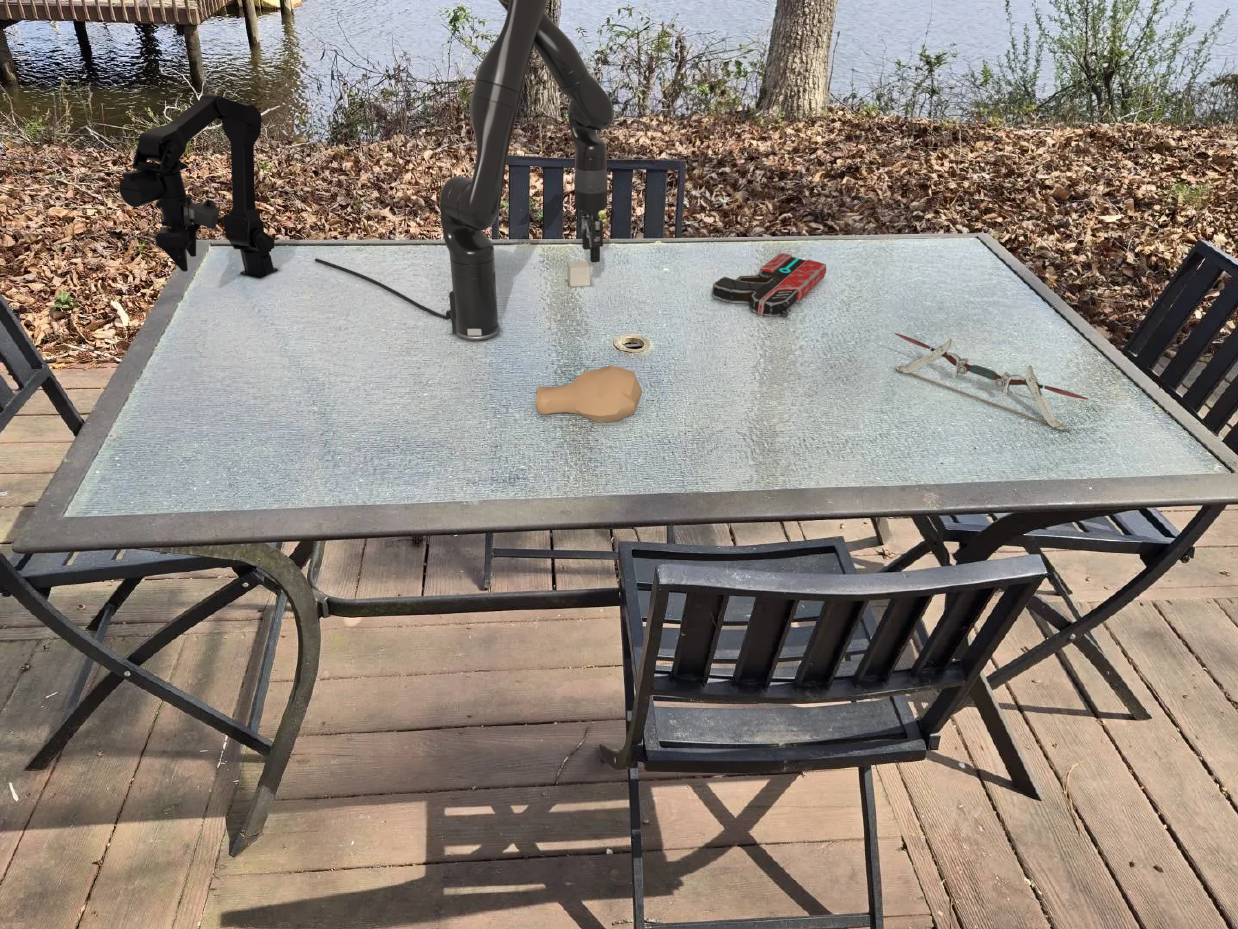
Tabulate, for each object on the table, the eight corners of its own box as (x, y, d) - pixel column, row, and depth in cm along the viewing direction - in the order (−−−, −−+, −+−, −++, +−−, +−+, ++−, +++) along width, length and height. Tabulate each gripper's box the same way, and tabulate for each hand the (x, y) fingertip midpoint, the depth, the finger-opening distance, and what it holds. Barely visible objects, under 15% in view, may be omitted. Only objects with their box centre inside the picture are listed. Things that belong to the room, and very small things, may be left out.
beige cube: (590, 285, 217) (590, 267, 214) (570, 286, 216) (570, 268, 213) (587, 278, 220) (587, 260, 218) (567, 279, 219) (567, 261, 217)
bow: (1077, 432, 163) (1095, 385, 158) (1074, 436, 162) (1091, 388, 156) (889, 364, 184) (899, 320, 179) (885, 367, 183) (895, 323, 178)
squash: (644, 429, 161) (640, 391, 154) (537, 437, 162) (528, 400, 156) (643, 392, 168) (639, 354, 162) (541, 400, 170) (533, 363, 164)
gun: (708, 284, 207) (784, 305, 199) (760, 245, 229) (831, 262, 221) (706, 302, 209) (781, 323, 201) (758, 261, 231) (828, 278, 223)
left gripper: (202, 206, 182) (220, 277, 191) (218, 180, 197) (234, 247, 206) (145, 208, 180) (165, 280, 189) (165, 181, 195) (183, 249, 204)
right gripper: (614, 195, 194) (613, 265, 203) (599, 176, 206) (599, 243, 215) (581, 197, 193) (581, 267, 202) (568, 178, 204) (569, 245, 213)
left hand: (189, 263), depth 197 cm, fingers open, 9 cm apart
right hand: (591, 255), depth 208 cm, fingers open, 8 cm apart
